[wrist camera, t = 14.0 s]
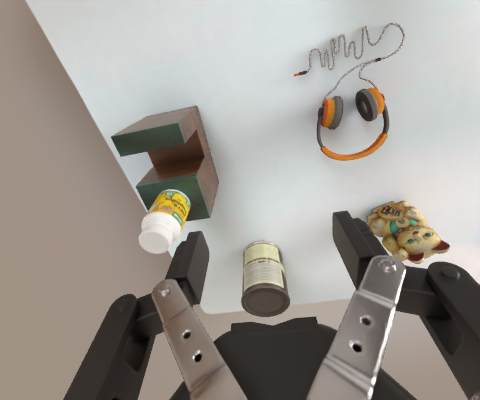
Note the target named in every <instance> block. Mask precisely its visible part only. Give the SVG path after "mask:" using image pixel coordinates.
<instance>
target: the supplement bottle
mask: <svg viewBox="0 0 480 400" xmlns="http://www.w3.org/2000/svg"><path fill="white" fill-rule="evenodd" d="M189 210H190V201H189V199H188V197H187V196H186V195H185V194H184V193H182V192H181V191H178V190H173V189H168V190H164V191H163V192H161V193H160V194H159V195H158V197H157V199H156V200H155V202H154V203H153V205H152V206H151V208H150V209H149V211H148V213H147V214H146V216H145V217H144V219H143V221H142V225H141V227H142V233H141V234H140V236H139V243H140V245H141V246H142V248H143V249H145V250H146V251H148V252H150V253H155V254H161V253H164V252H166V251H167V250H168V249H169V248H170V246H171V244H172V242H174V241H176V240H177V239H178V237H179V236H180V233H181V231H182V228H183V226H184V223H185V220H186V218H187V215H188V212H189Z"/></svg>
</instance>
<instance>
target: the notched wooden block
mask: <svg viewBox="0 0 480 400" xmlns="http://www.w3.org/2000/svg"><path fill="white" fill-rule="evenodd" d="M111 138H112V140H113V142H114V144H115V146H116V148H117V150H118V152H119V154H120V156H121V157H122V156H127V155H132V154H137V153H142V152H148V154H149V156H150V159H151V161H152V163H153V168H152V169H151V170H150V171H149V172H148V173H147V174H146V175H145V177H144V178H143V179H142V180H141V181H140V182H139V183H138V185H137V186H136V188H137V190H138V192H139V194H140V196H141V198H142V200H143V202H144V204H145V206H146V208H147V210H148V211H149V209H150V208H151V206H152V205H153V203H154V202H155V200H156V199H157V197H158V195H159V194H160V193H161V192H163V191H164V190H168V189H173V190H178V191H181V192H182V193H184V194H185V195H186V196H187V197H188V199H189V201H190V210H189V212H188V215H187V218H186V220H185V221H192V220H199V219H205V218H210V216H211V212H212V208H213V204H214V200H215V196H216V192H217V188H218V184H219V181H218V178H217V174H216V171H215V167H214V164H213V160H212V157H211V153H210V150H209V146H208V143H207V139H206V136H205V132H204V129H203V125H202V122H201V118H200V114H199V111H198V107H197V106H193V107H188V108H184V109H179V110H175V111H170V112H165V113H161V114H156V115H152V116H147V117H145V118H143V119H142V120H140V121H138V122H136V123H134V124H133V125H131V126H129V127H127V128H125V129H124V130H122V131H120V132H118V133H117V134H115V135H113V136H111Z"/></svg>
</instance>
